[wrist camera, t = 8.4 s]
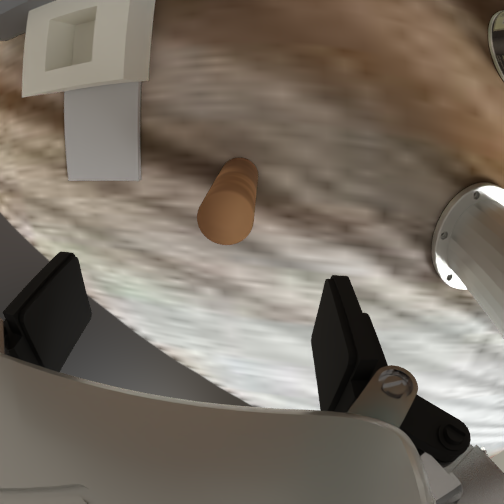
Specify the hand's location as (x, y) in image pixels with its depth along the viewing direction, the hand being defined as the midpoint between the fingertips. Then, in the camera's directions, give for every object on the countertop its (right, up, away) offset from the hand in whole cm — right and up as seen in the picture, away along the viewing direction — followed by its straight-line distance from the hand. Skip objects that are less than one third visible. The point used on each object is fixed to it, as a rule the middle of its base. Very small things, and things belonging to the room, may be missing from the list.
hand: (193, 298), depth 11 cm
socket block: (-11, +20, +9) cm, 24 cm away
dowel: (+1, +8, +15) cm, 18 cm away
